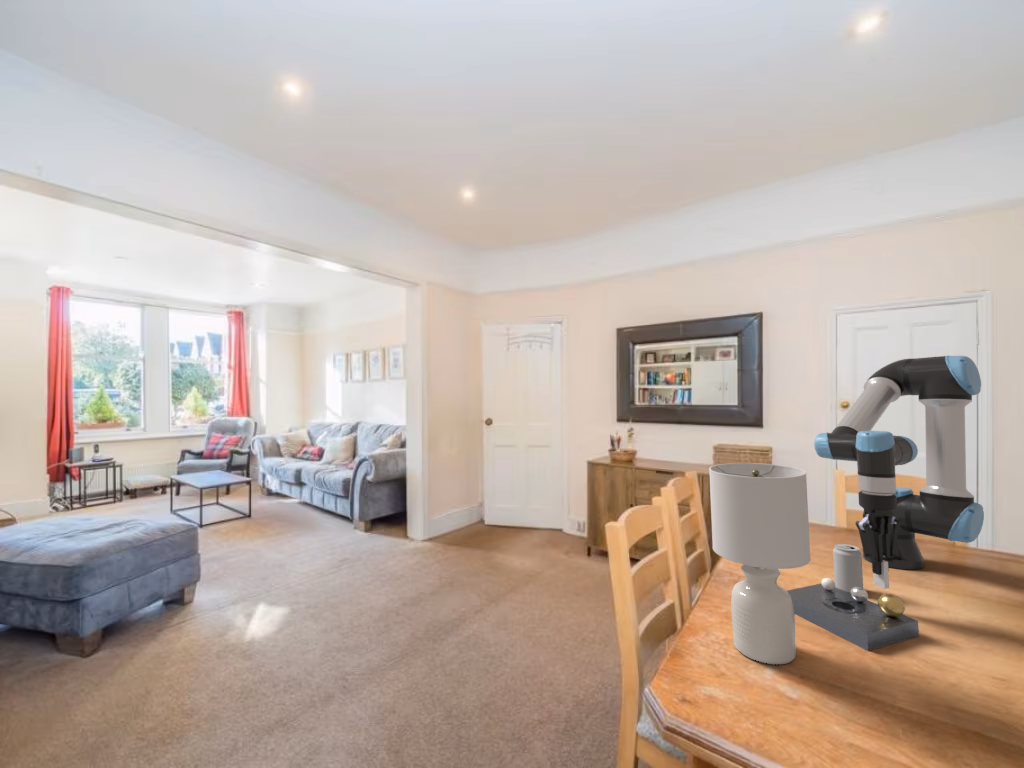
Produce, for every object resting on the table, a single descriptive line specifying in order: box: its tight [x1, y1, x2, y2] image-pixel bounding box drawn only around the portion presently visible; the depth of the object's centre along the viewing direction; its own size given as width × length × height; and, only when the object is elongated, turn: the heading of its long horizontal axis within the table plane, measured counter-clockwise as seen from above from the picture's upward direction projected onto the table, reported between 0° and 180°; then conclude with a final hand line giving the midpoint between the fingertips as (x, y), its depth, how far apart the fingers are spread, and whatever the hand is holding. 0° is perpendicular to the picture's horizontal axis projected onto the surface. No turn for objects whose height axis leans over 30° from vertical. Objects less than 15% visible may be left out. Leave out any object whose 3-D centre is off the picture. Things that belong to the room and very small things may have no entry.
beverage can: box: [832, 543, 864, 593], centre depth 125 cm, size 6×6×12 cm
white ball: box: [820, 577, 836, 590], centre depth 118 cm, size 3×3×3 cm
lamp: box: [708, 462, 811, 666], centre depth 99 cm, size 19×19×39 cm
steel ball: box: [850, 587, 869, 602], centre depth 111 cm, size 4×4×4 cm
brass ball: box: [877, 593, 906, 617], centre depth 104 cm, size 5×5×5 cm
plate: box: [786, 583, 920, 652], centre depth 110 cm, size 16×22×4 cm
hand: (881, 586), depth 114 cm, fingers closed
